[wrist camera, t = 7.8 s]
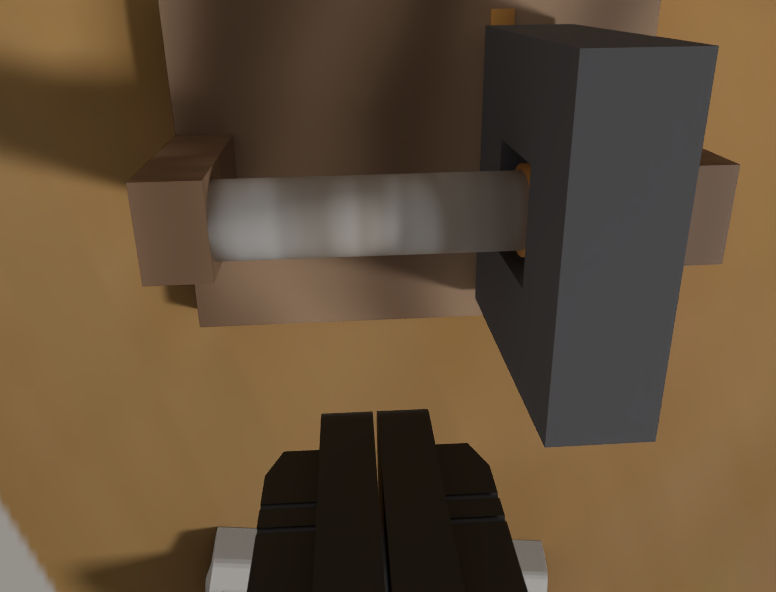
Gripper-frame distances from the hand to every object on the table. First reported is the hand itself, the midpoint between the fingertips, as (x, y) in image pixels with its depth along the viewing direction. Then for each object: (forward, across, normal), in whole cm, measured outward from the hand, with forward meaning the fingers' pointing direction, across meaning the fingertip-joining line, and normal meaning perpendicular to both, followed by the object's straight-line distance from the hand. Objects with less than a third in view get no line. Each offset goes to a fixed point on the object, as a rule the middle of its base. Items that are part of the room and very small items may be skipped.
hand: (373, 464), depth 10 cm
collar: (+17, -6, 0) cm, 18 cm away
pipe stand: (+19, -2, 0) cm, 19 cm away
